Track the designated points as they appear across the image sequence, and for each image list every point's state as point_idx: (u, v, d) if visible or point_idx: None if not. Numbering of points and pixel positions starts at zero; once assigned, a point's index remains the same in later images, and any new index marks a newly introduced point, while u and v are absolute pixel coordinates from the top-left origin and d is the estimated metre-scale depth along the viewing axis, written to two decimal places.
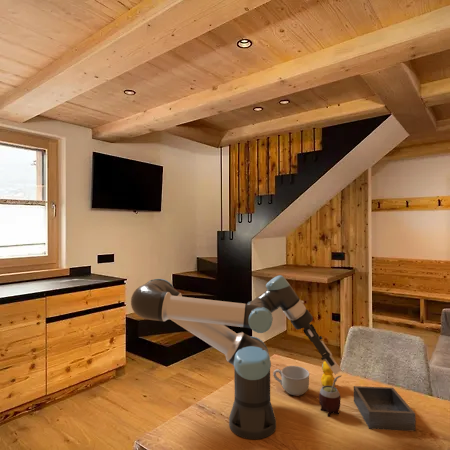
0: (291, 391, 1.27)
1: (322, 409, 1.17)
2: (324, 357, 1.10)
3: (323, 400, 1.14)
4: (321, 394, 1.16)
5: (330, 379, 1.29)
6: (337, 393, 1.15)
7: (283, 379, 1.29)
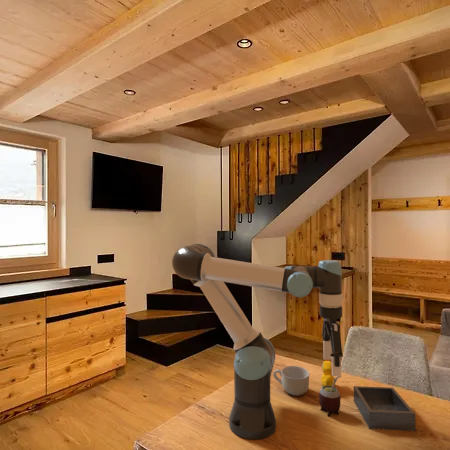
0: (291, 391, 1.27)
1: (322, 409, 1.17)
2: (336, 355, 1.06)
3: (324, 400, 1.14)
4: (321, 394, 1.16)
5: (330, 379, 1.29)
6: (337, 393, 1.14)
7: (283, 379, 1.29)
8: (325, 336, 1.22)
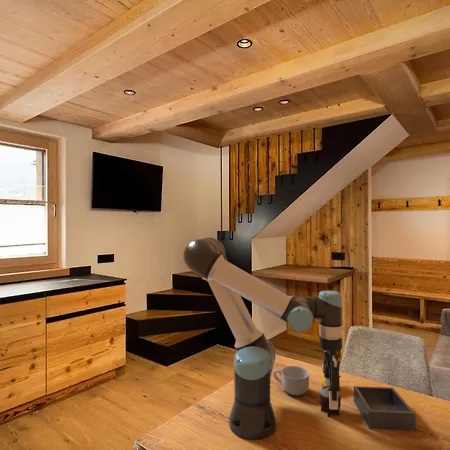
0: (291, 391, 1.27)
1: (322, 409, 1.17)
2: (333, 390, 1.09)
3: (324, 401, 1.14)
4: (321, 394, 1.15)
5: None
6: None
7: (283, 379, 1.29)
8: (326, 371, 1.20)
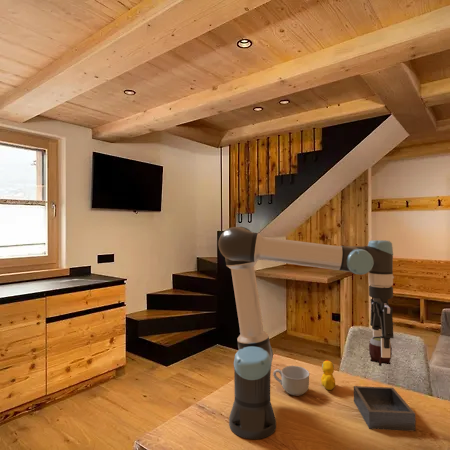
0: (291, 391, 1.27)
1: (372, 360, 1.15)
2: (387, 336, 1.08)
3: (375, 350, 1.12)
4: (372, 344, 1.14)
5: (330, 379, 1.29)
6: None
7: (283, 379, 1.29)
8: (375, 323, 1.18)
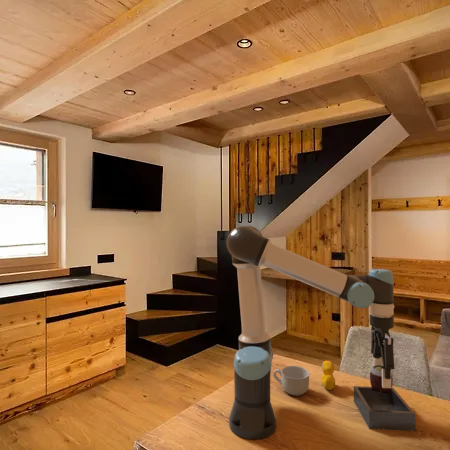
0: (291, 391, 1.27)
1: (373, 389, 1.15)
2: (388, 367, 1.08)
3: (376, 379, 1.12)
4: (373, 373, 1.14)
5: (330, 379, 1.29)
6: None
7: (283, 379, 1.29)
8: (375, 351, 1.18)
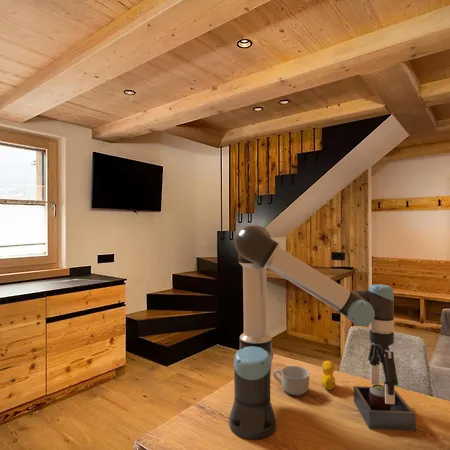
0: (291, 391, 1.27)
1: (372, 408, 1.16)
2: (391, 383, 1.05)
3: (374, 399, 1.13)
4: (371, 393, 1.14)
5: (330, 379, 1.29)
6: None
7: (283, 379, 1.29)
8: (373, 361, 1.20)
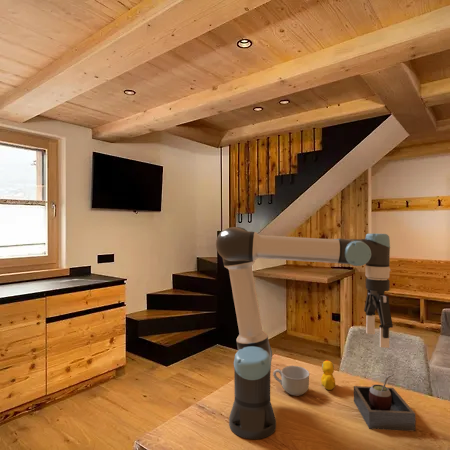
0: (291, 391, 1.27)
1: (372, 408, 1.16)
2: (386, 325, 1.06)
3: (374, 399, 1.13)
4: (371, 393, 1.14)
5: (330, 379, 1.29)
6: (388, 392, 1.13)
7: (283, 379, 1.29)
8: (369, 310, 1.21)
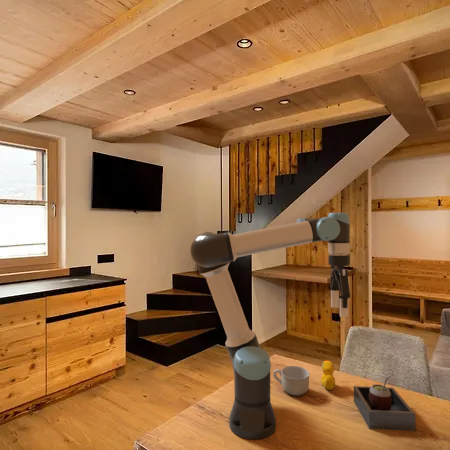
0: (291, 391, 1.27)
1: (372, 408, 1.16)
2: (344, 296, 1.14)
3: (374, 399, 1.13)
4: (371, 393, 1.14)
5: (330, 379, 1.29)
6: (388, 392, 1.13)
7: (283, 379, 1.29)
8: (333, 285, 1.30)
